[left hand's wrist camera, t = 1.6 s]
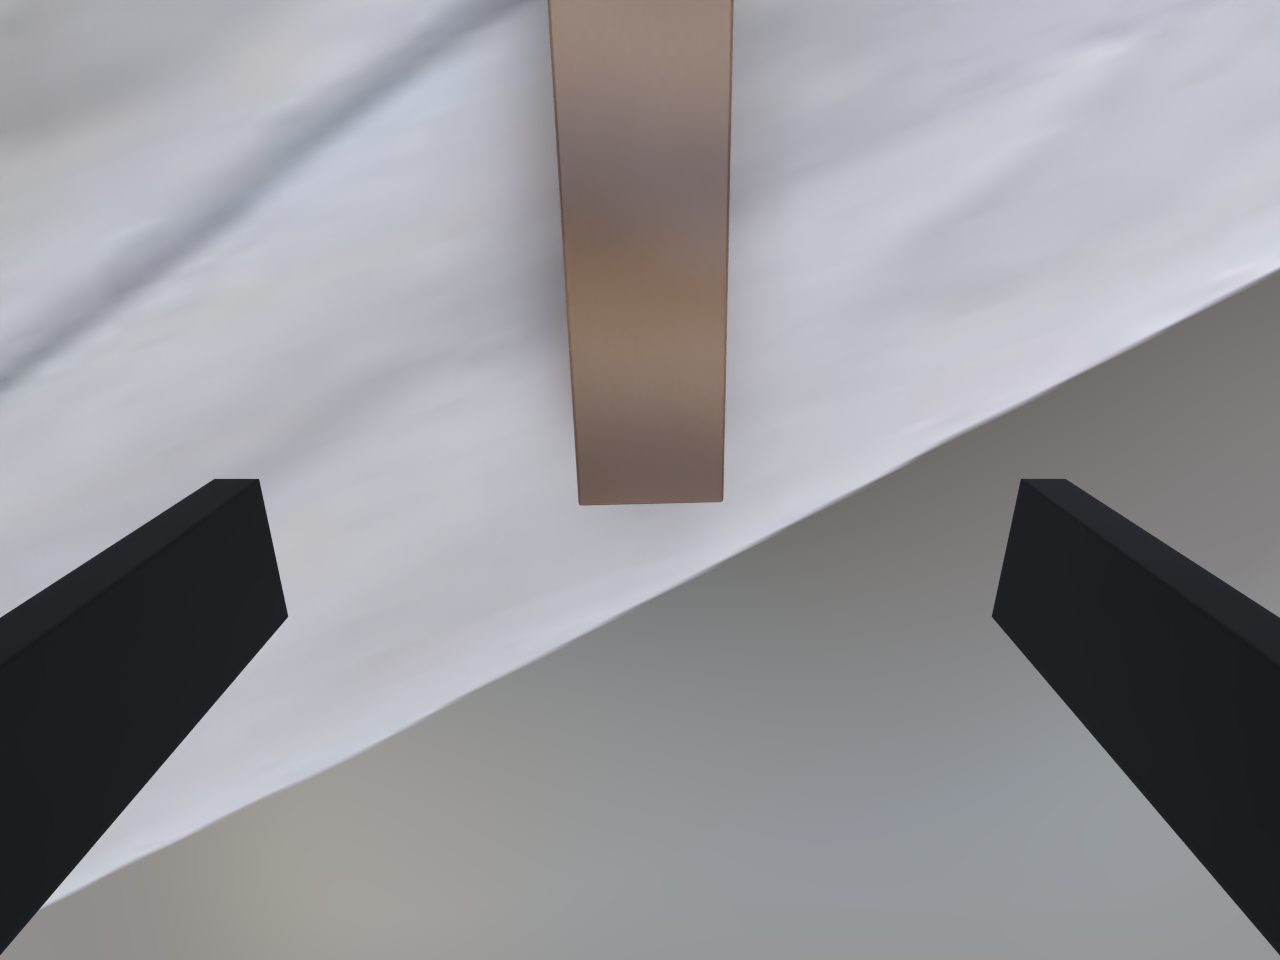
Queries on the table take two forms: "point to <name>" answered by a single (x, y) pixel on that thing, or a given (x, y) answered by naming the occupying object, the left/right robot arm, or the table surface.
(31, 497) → the table surface
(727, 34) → the post
